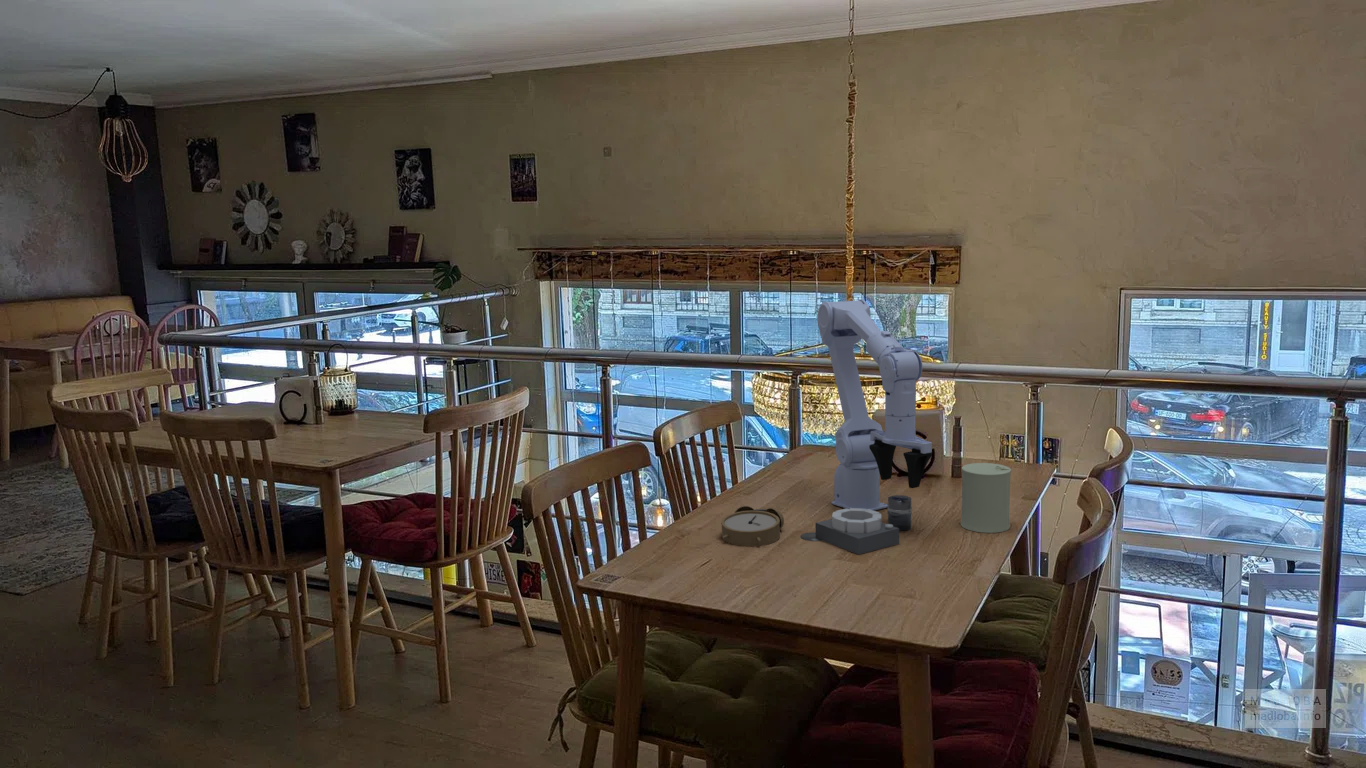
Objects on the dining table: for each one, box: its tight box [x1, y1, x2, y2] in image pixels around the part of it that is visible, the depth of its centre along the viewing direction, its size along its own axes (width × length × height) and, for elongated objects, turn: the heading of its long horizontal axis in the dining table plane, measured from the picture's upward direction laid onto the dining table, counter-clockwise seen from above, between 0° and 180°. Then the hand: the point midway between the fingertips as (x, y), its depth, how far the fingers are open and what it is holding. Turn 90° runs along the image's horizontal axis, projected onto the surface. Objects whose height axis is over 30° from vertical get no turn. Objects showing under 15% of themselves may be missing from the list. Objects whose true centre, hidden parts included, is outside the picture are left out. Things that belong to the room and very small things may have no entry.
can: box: [960, 462, 1012, 534], centre depth 188 cm, size 9×9×12 cm
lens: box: [887, 494, 913, 532], centre depth 189 cm, size 5×5×6 cm
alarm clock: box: [720, 505, 785, 547], centre depth 188 cm, size 11×5×15 cm
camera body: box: [815, 508, 900, 555], centre depth 182 cm, size 12×10×5 cm
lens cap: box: [799, 531, 822, 542], centre depth 186 cm, size 5×5×1 cm
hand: (899, 483), depth 188 cm, fingers open, 7 cm apart
